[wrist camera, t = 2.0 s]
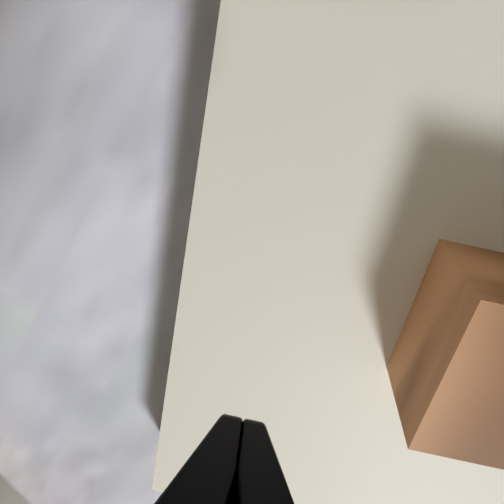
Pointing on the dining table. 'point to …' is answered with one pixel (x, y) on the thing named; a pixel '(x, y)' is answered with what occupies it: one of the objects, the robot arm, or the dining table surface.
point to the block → (454, 358)
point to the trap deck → (333, 233)
